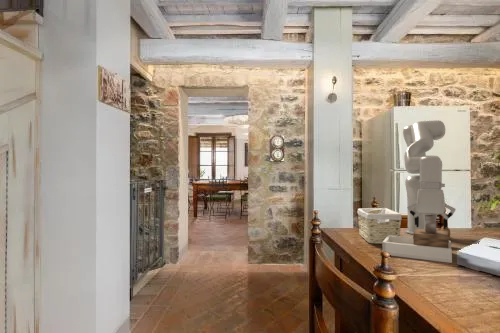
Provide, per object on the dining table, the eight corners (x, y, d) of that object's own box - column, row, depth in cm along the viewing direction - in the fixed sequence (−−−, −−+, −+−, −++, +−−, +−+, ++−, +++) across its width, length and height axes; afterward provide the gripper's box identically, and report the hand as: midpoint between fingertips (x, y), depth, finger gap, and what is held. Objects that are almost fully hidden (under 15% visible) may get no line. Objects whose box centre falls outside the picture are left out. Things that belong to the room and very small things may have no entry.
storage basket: (356, 234, 173) (356, 207, 174) (387, 234, 171) (387, 207, 172) (367, 244, 150) (366, 213, 150) (403, 245, 148) (402, 213, 148)
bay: (382, 254, 132) (382, 242, 132) (388, 245, 147) (388, 234, 147) (452, 262, 120) (451, 249, 120) (450, 252, 134) (450, 240, 134)
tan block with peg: (413, 253, 129) (412, 216, 129) (415, 246, 139) (414, 212, 139) (449, 257, 122) (448, 218, 122) (448, 250, 133) (447, 214, 133)
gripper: (454, 186, 129) (455, 228, 129) (407, 185, 138) (408, 224, 138) (455, 187, 123) (456, 231, 123) (406, 186, 132) (406, 227, 132)
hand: (430, 227), depth 131 cm, fingers open, 9 cm apart
